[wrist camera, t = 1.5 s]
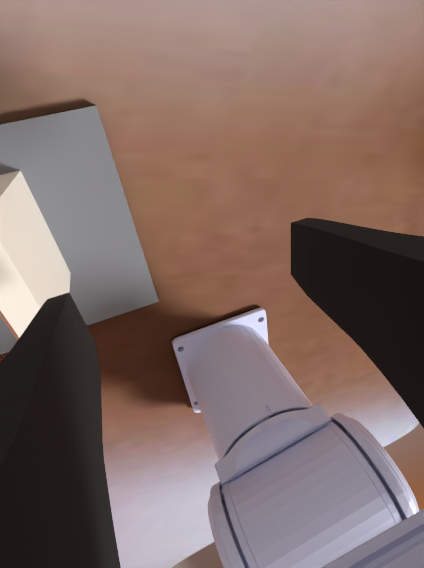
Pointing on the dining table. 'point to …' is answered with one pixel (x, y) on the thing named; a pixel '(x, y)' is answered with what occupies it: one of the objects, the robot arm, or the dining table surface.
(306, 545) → the robot arm
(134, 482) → the dining table surface
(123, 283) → the mat
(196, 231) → the dining table surface
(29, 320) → the tile
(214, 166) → the dining table surface
